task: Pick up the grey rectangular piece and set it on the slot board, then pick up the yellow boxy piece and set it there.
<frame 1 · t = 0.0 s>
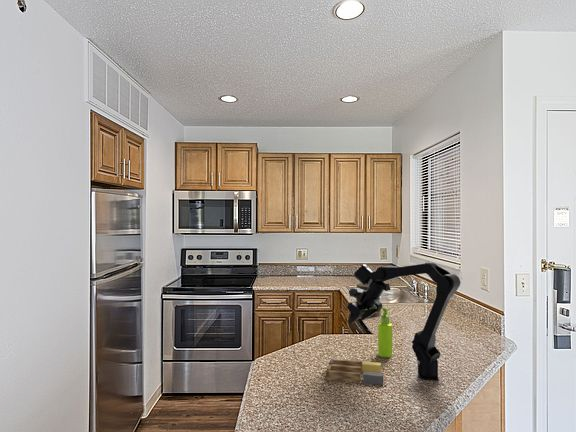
hand: (355, 321, 173), 15 cm above the worktop, tool tilted 35°, fingers open, 9 cm apart
yellow boxy piece: (371, 371, 157), on the worktop
slot board: (344, 374, 154), on the worktop
grey rectangular piece: (373, 383, 146), on the worktop
wooden container: (368, 314, 255), on the worktop
soap dispenser: (384, 355, 177), on the worktop
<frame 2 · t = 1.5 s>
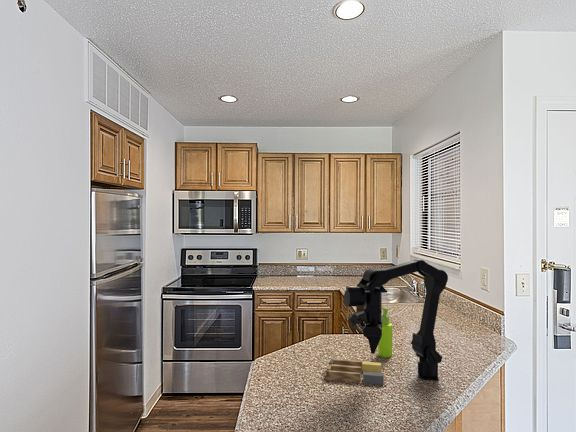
hand: (373, 349, 146), 11 cm above the worktop, tool pointing down, fingers open, 9 cm apart
nothing on the worktop moved.
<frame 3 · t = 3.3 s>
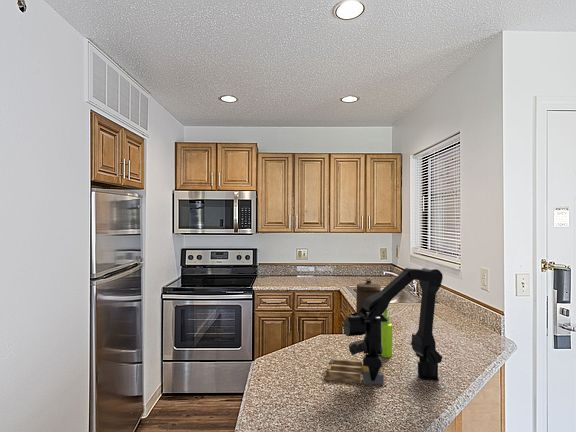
hand: (373, 378, 146), 1 cm above the worktop, tool pointing down, fingers closed on grey rectangular piece, 3 cm apart
grey rectangular piece: (373, 382, 146), on the worktop, touching gripper
everything else where it was.
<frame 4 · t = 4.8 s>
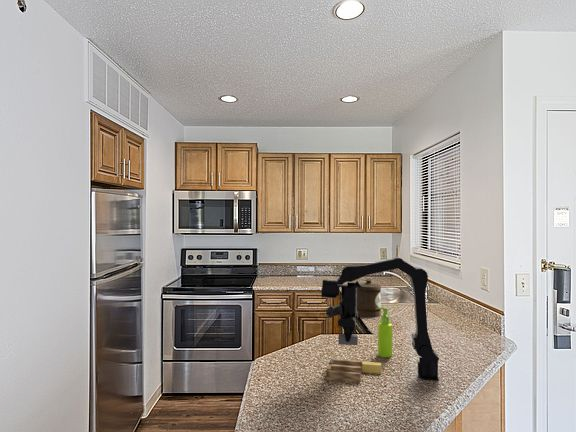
hand: (348, 340, 156), 12 cm above the worktop, tool pointing down, fingers closed on grey rectangular piece, 3 cm apart
grey rectangular piece: (347, 343, 156), point 11 cm above the worktop, touching gripper
everything else where it was.
when the fingers open (4 cm above the worktop, at t = 6.3 s): grey rectangular piece drops 2 cm, resting on slot board.
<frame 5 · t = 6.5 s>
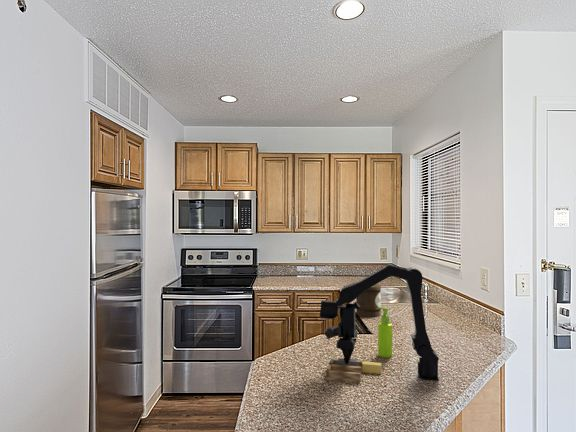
hand: (347, 361, 157), 4 cm above the worktop, tool pointing down, fingers open, 5 cm apart
grey rectangular piece: (347, 368, 157), point 1 cm above the worktop, touching slot board
everything else where it was.
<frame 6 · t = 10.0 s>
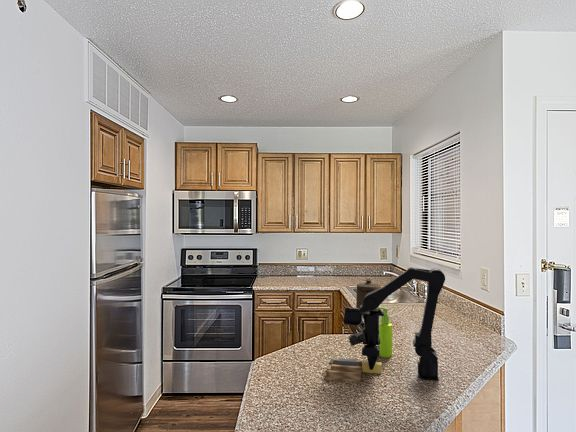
hand: (371, 368, 157), 1 cm above the worktop, tool pointing down, fingers closed on yellow boxy piece, 3 cm apart
yellow boxy piece: (372, 371, 157), on the worktop, touching gripper
everything else where it was.
when the fingers open (4 cm above the worktop, at t = 13.0 s): yellow boxy piece drops 2 cm, resting on slot board.
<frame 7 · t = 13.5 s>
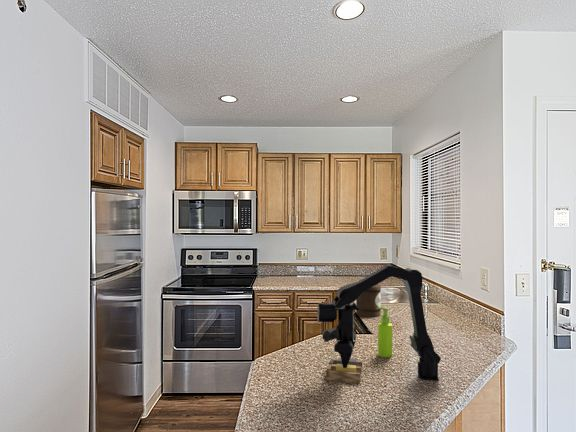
hand: (345, 365, 151), 4 cm above the worktop, tool pointing down, fingers open, 6 cm apart
yellow boxy piece: (346, 374, 151), point 1 cm above the worktop, touching slot board
everything else where it was.
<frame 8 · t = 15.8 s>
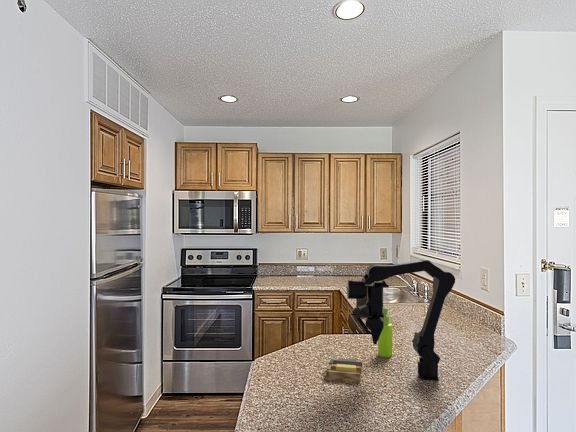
hand: (375, 341, 153), 12 cm above the worktop, tool pointing down, fingers open, 6 cm apart
nothing on the worktop moved.
at the end: grey rectangular piece inside the target area on the slot board (0.2 cm from its centre), point 1.0 cm above the slot board's base; yellow boxy piece inside the target area on the slot board (0.3 cm from its centre), point 1.0 cm above the slot board's base; the gripper is holding nothing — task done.
